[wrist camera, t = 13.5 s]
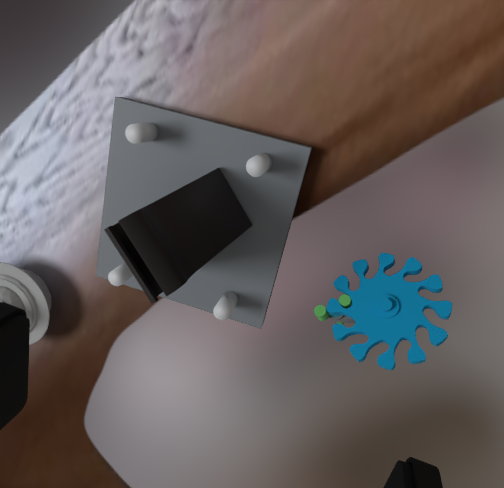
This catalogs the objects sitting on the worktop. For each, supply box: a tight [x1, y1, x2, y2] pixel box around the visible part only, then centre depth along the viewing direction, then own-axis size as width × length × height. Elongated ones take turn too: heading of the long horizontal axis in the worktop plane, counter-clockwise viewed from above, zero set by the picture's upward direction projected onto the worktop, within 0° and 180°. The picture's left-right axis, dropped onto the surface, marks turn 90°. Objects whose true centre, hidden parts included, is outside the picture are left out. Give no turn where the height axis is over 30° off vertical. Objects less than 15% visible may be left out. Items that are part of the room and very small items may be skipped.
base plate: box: [96, 97, 312, 329], centre depth 38 cm, size 18×18×4 cm
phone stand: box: [104, 168, 252, 303], centre depth 33 cm, size 9×6×12 cm, turn 120°
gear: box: [314, 253, 452, 370], centre depth 37 cm, size 11×6×10 cm
